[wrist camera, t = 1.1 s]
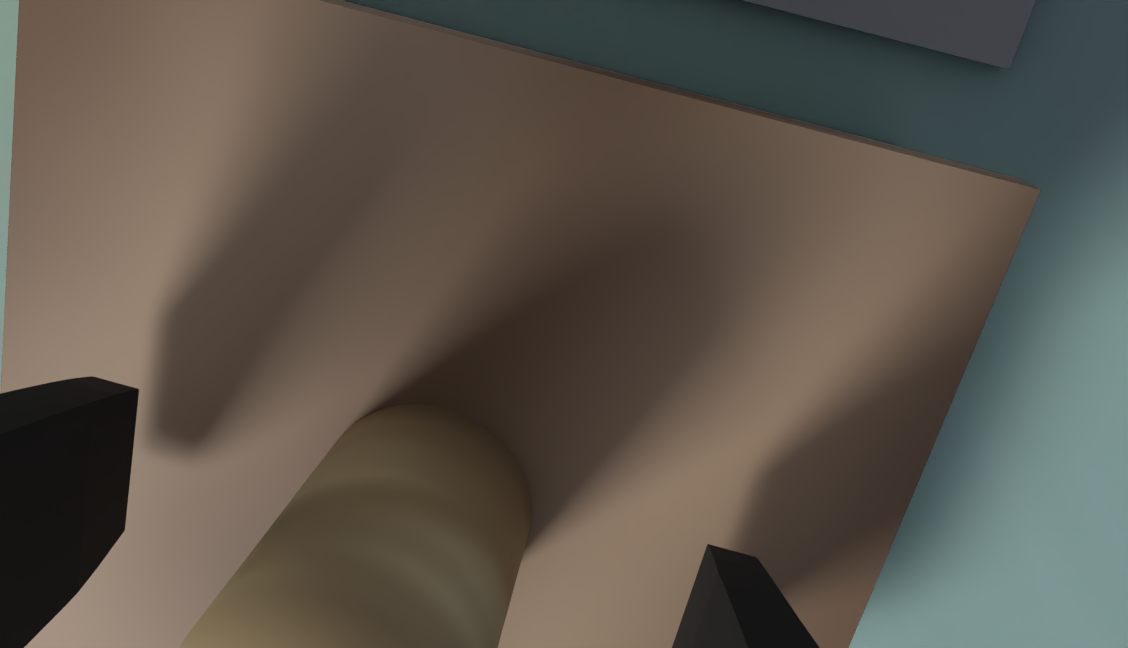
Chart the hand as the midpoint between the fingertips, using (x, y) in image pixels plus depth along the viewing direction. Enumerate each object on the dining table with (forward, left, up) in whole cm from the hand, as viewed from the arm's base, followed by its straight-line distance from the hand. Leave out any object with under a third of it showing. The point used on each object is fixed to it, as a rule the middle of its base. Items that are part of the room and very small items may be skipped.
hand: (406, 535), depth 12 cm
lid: (0, 0, -2) cm, 2 cm away
